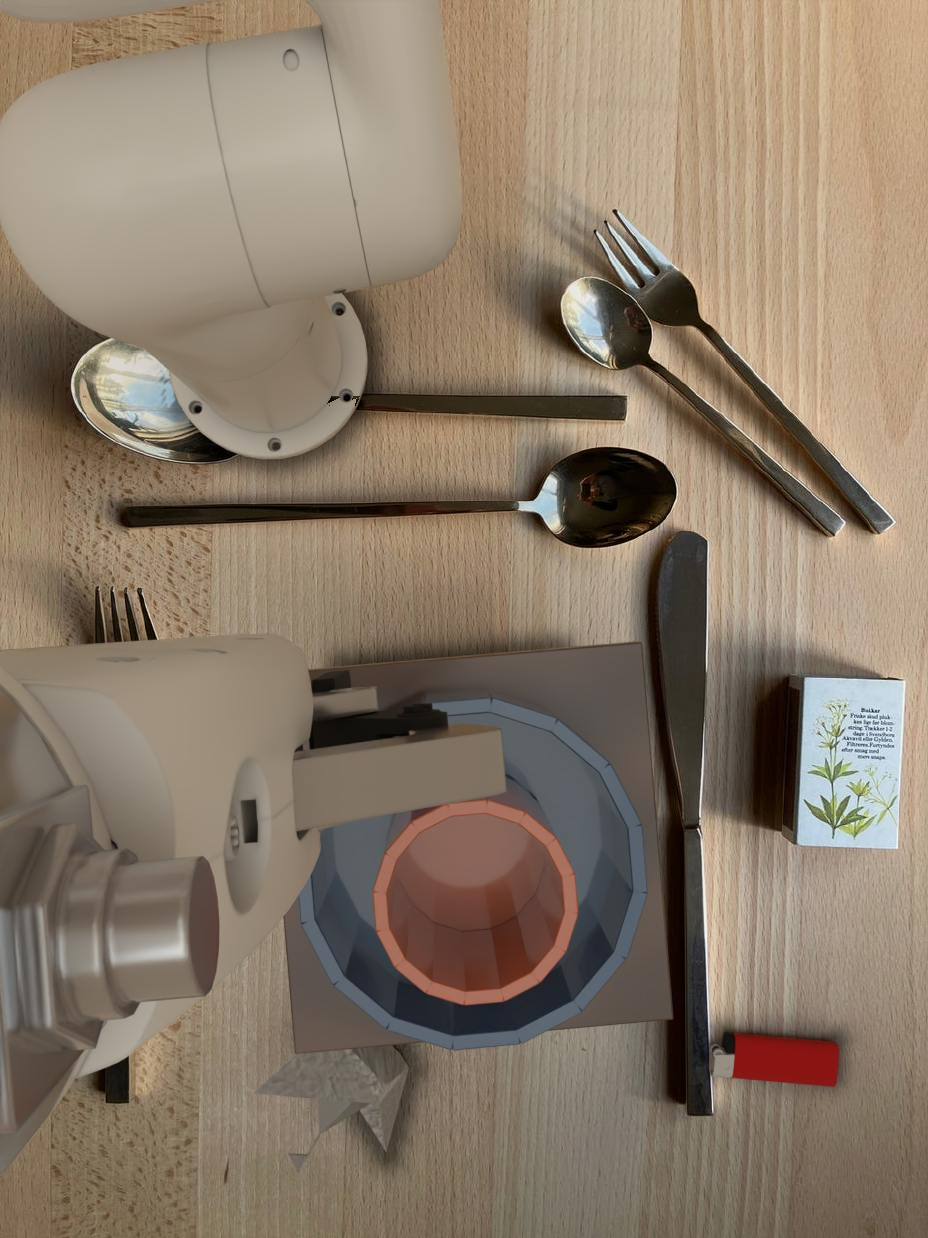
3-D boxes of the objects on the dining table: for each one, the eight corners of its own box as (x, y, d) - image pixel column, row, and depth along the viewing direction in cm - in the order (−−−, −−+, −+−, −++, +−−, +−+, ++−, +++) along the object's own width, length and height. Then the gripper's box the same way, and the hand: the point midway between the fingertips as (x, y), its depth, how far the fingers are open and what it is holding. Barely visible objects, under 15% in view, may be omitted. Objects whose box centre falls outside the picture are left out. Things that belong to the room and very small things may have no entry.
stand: (326, 653, 68) (262, 674, 44) (572, 632, 68) (642, 642, 44) (347, 900, 68) (294, 1055, 44) (593, 878, 68) (673, 1020, 44)
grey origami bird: (468, 1086, 67) (391, 1227, 65) (411, 1043, 72) (338, 1172, 70) (339, 1017, 61) (248, 1171, 58) (287, 976, 66) (201, 1115, 63)
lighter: (835, 1091, 67) (711, 1080, 67) (828, 1082, 69) (706, 1071, 68) (840, 1047, 67) (716, 1036, 67) (832, 1039, 69) (710, 1028, 68)
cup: (378, 776, 44) (365, 809, 36) (547, 762, 44) (568, 792, 36) (392, 945, 44) (382, 1013, 36) (561, 930, 44) (585, 995, 36)
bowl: (298, 704, 44) (282, 714, 40) (612, 677, 44) (631, 684, 40) (325, 1018, 44) (311, 1064, 40) (638, 990, 44) (660, 1032, 40)
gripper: (525, 515, 11) (474, 577, 28) (-1212, 657, 10) (-184, 631, 28) (586, 1244, 11) (498, 859, 28) (-1143, 1410, 10) (-159, 917, 28)
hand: (159, 746), depth 28 cm, fingers open, 9 cm apart
